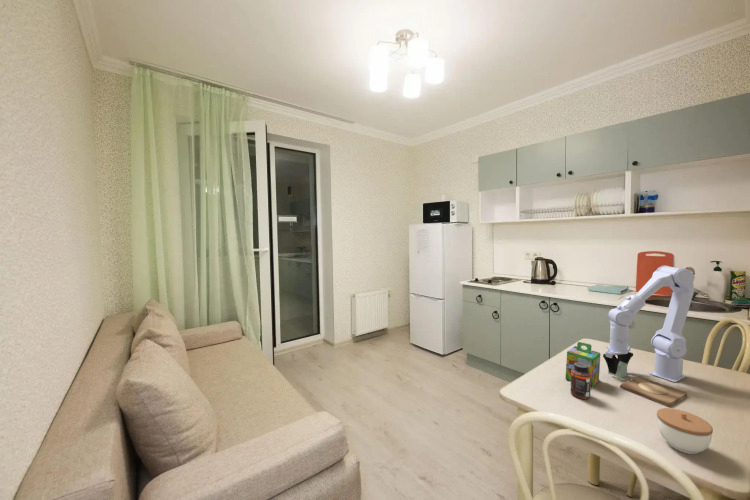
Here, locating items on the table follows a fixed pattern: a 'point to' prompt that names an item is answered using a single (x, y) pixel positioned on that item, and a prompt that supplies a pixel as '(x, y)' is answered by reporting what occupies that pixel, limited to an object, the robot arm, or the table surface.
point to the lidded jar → (684, 430)
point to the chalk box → (583, 361)
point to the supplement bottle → (580, 381)
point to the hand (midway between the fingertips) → (617, 371)
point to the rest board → (654, 391)
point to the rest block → (620, 370)
